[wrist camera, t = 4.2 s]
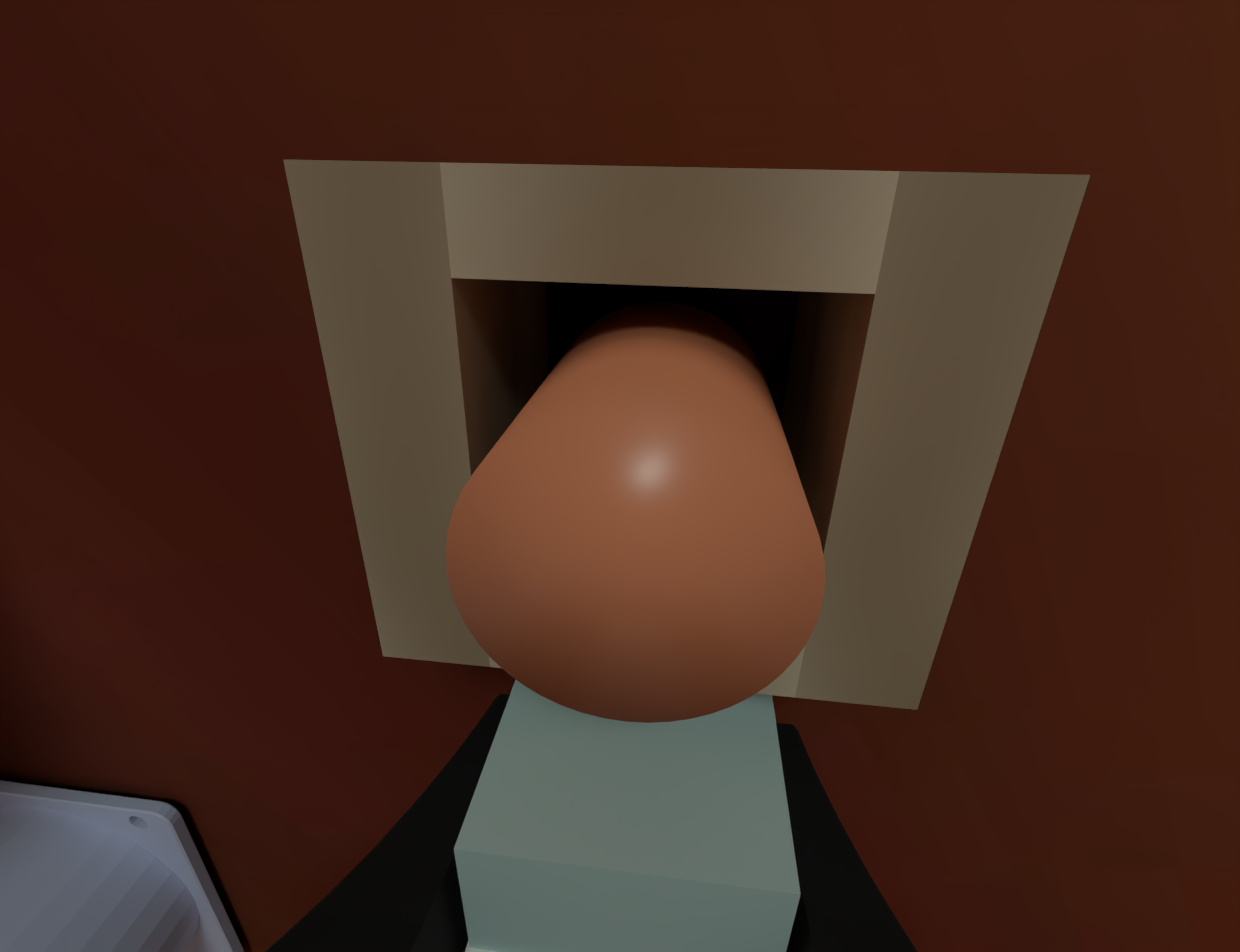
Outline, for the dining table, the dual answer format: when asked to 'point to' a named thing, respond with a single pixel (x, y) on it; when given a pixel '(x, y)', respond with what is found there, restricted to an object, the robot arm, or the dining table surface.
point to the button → (641, 526)
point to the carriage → (629, 834)
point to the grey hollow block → (708, 258)
